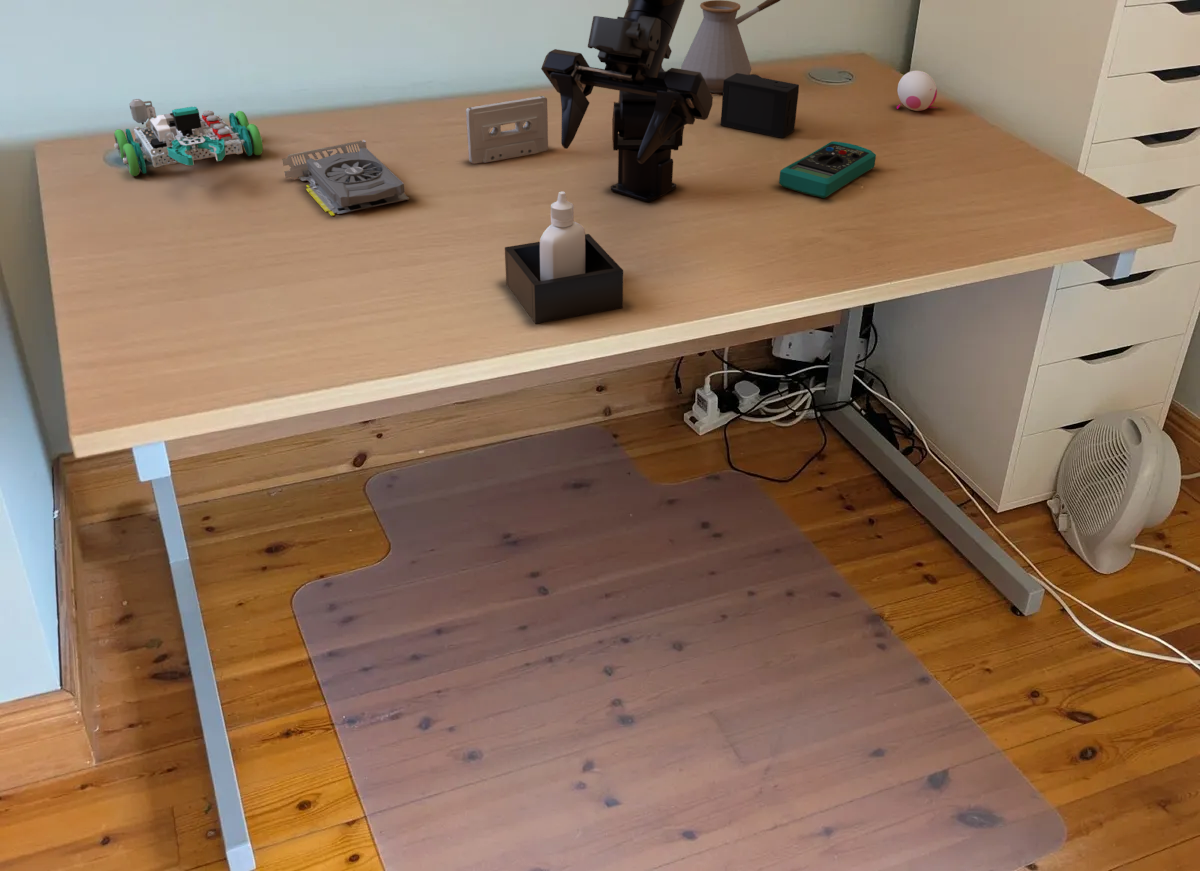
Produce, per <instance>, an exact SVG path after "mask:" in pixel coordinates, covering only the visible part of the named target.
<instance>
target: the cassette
mask: <svg viewBox="0 0 1200 871" xmlns="http://www.w3.org/2000/svg"><path fill="white" fill-rule="evenodd" d="M465 115H466V116H465V117H466V130H467V132H466V134H467V147H468V148H467V149H468V150H467V151H468V161H469V163H471V164H473V165H476V164H481V163H482V164H483V163H484V164H485V163H490V162H497V161H503V160H507V159H508V160H509V159H513V158H519V157H523V156H530V155H535V154H538V153H541V152H543V153H544V152H546V151H548V150H549V125H548V124H549V123H548V122H549V121H548V98H547V97H546V96H544V95H539V96H533V97H527V98H520V99H513V100H507V101H502V102H496V103H488V104H483V105H476V106H470V107H467V108H466V109H465ZM510 124H511V125H512V124H514V126H515V128H513V129H506V130H502V129H501V128H502V127H501V126H504V125H510ZM491 129H492V130H491Z"/></svg>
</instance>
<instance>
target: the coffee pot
mask: <svg viewBox="0 0 1200 871" xmlns="http://www.w3.org/2000/svg"><path fill="white" fill-rule="evenodd" d="M780 1H781V0H764V1H763V2H762V3H760V4H758V5H757V6H756V7H754V8H753V9H751V10H749V11H747V12H746V13H744V14H741V15H740V16H738V17H737V15H738V11H739V10H740V9H741V4H740V3H738V2H736V1H731V0H706V1H702V2H701V3H700V5H699V7H700V9H702V15H703V19H702V20H701V22H700V25H699V27H698V29H697V32H696V34H695V36H694V38H693V39H692V42H691V44H690V46H689V48H688V51H687V53H686V55H685V57H684V60H683V61H682V63H681V66H680V69H683V70H689V71H695V72H701V74H702V76H703V78H704V79H705V82H706V84H707V86H708V88H709V90H710V93H713V94H716V93H720V94H721V93H722V94H723V84H724V80H725V79H727V78H728V77H730V76H732V75H734V74H736V73H740V74H745V75H751V74H752V73H751V72H752V66H751V63H750V60H749V56H748V54H747V50H746V47H745V45H744V41H743V38H742V35H741V32H740V29H739V26H738V25H740V24H741V23H743V22H744V21H747V20H748V19H749V18H752V16H754V15H755V14H757V13H759V12H761V11H764V10H765V9H767V8H769V7H771V6H773V5H775V4H777V3H779V2H780Z"/></svg>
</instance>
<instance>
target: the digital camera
mask: <svg viewBox="0 0 1200 871" xmlns="http://www.w3.org/2000/svg"><path fill="white" fill-rule="evenodd" d="M799 90H800V84H798V83H793V82H787V81H782V80H777V79H771V78H767V77H762V76H760V75H759V74H755V73H750V75H745V74H740V73H736V74H734V75H732V76H730V77H728V78H727V79H725V80H724V84H723V92H722V97H721V98H722V100H721V101H722V102H721V112H720V113H721V117H720V126H723V127H728V128H731V129H737V130H741V131H747V132H751V133H756V134H762V135H766V136H770V137H775V138H781V139H784V138H785V137H787V136H789V134H791V133H793V132H794V131H795V126H796V118H797V111H798V110H797V108H798V100H799Z"/></svg>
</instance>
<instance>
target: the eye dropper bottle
mask: <svg viewBox="0 0 1200 871" xmlns="http://www.w3.org/2000/svg"><path fill="white" fill-rule="evenodd" d="M574 206H575V205H574V204H573V203H572V202H571V201H568V199H567V193H566V192H565V191H559V192H558V193H557V199H556V201H553V202H552V203H551V204H550V225H548V226H547V227H546V228H545V230H544V231H543V232H542V234H541V237H540V238H539V242H540V281H544V280H550V279H556V278H561V277H567V276H573V275H579V274H585V234H586V230H585V227H584V225H583V224H581V223H580V222H577V221H575V207H574Z"/></svg>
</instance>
